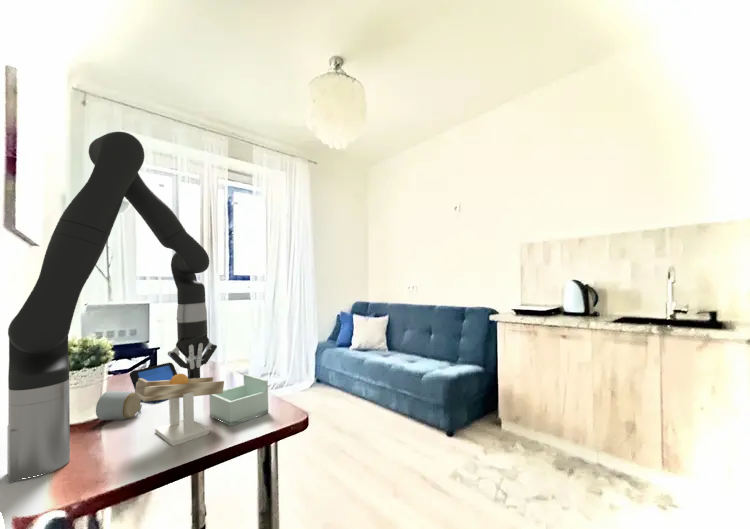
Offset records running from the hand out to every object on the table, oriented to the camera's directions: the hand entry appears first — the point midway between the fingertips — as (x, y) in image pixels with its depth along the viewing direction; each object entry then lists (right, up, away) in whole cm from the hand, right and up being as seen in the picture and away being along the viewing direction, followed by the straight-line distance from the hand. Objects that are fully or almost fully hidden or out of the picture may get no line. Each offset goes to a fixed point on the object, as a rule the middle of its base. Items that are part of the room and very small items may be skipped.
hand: (194, 381), depth 99 cm
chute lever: (-1, 0, -8) cm, 8 cm away
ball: (+2, +4, -11) cm, 12 cm away
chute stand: (+3, -9, -12) cm, 15 cm away
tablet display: (-21, -12, +21) cm, 32 cm away
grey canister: (-21, -11, +1) cm, 24 cm away
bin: (+13, -9, 0) cm, 16 cm away
